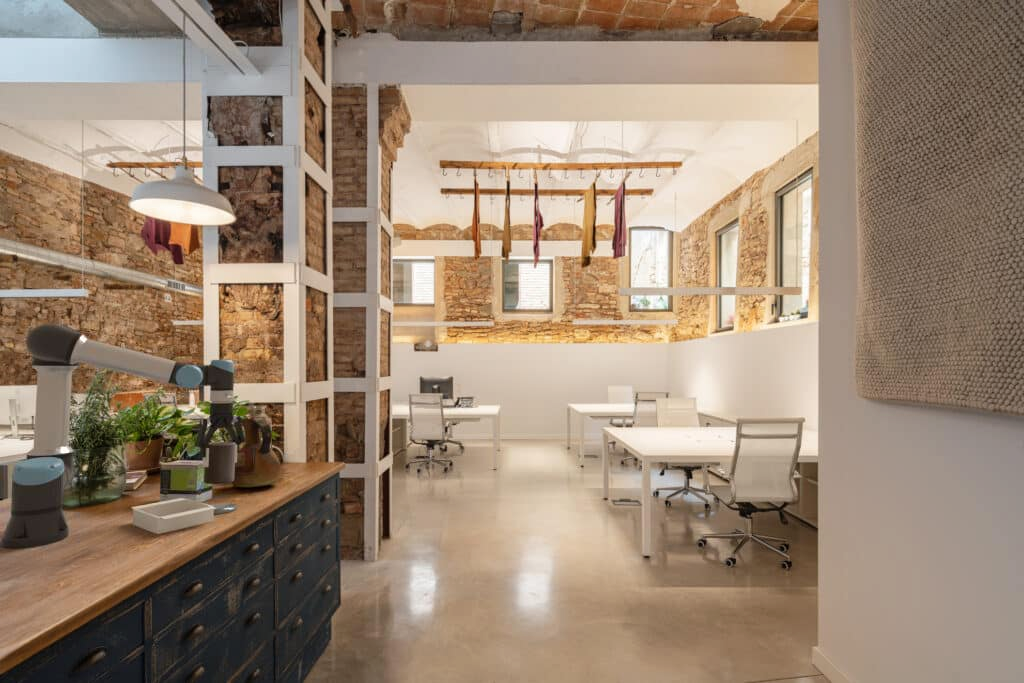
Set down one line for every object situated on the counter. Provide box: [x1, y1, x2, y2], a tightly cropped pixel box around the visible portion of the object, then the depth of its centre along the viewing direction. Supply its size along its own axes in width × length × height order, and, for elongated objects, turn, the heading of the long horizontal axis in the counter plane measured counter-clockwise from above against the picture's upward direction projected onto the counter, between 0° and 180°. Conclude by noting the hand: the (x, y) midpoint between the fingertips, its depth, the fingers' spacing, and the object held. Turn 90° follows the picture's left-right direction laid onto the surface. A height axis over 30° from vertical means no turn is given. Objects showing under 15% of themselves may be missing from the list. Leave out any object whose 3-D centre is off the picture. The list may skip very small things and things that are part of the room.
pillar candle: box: [204, 439, 236, 485], centre depth 201 cm, size 10×10×15 cm
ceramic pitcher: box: [231, 416, 282, 488], centre depth 238 cm, size 20×20×30 cm
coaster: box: [210, 502, 238, 516], centre depth 200 cm, size 12×12×1 cm
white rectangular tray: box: [130, 498, 217, 535], centre depth 184 cm, size 17×23×5 cm
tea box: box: [159, 460, 213, 503], centre depth 213 cm, size 15×10×15 cm, turn 84°
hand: (220, 464), depth 201 cm, fingers closed on pillar candle, 10 cm apart
